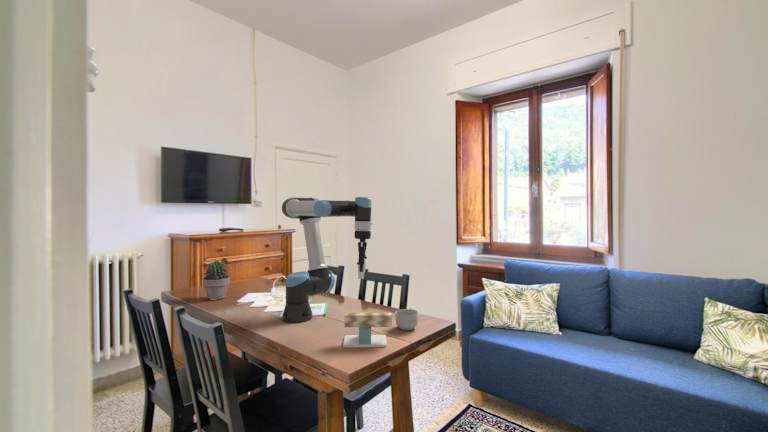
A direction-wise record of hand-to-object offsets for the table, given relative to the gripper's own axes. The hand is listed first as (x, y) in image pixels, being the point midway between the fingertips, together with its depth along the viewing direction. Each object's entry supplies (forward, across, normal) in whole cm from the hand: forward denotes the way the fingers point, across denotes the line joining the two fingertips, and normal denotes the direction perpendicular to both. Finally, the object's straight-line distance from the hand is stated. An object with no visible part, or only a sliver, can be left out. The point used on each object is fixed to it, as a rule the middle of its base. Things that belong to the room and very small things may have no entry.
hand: (361, 275), depth 162 cm
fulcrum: (+25, -15, -3) cm, 30 cm away
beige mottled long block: (+18, -15, -4) cm, 24 cm away
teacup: (+26, +3, -23) cm, 34 cm away
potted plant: (+29, +57, +94) cm, 114 cm away
